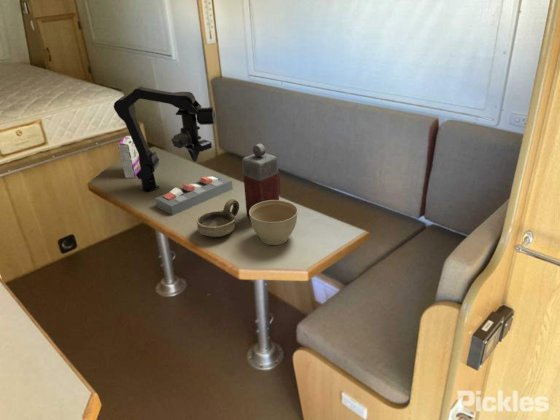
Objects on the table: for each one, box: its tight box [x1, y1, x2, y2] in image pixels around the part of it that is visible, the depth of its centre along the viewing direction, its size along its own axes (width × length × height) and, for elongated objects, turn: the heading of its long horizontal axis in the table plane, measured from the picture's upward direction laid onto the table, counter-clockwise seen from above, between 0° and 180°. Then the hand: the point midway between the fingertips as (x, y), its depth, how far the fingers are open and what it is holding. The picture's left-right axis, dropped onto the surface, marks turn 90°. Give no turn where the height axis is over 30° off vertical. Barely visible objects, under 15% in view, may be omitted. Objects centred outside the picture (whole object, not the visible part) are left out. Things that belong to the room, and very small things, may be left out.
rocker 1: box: [163, 186, 183, 201], centre depth 187 cm, size 4×6×2 cm, turn 136°
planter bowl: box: [249, 199, 299, 246], centre depth 160 cm, size 16×16×11 cm
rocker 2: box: [181, 183, 201, 191], centre depth 192 cm, size 4×6×2 cm, turn 136°
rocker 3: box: [199, 176, 218, 184], centre depth 198 cm, size 4×6×2 cm, turn 136°
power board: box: [155, 173, 233, 216], centre depth 192 cm, size 11×30×4 cm, turn 136°
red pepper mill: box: [241, 143, 282, 218], centre depth 171 cm, size 9×11×28 cm
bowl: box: [196, 198, 240, 238], centre depth 166 cm, size 14×18×10 cm
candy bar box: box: [117, 135, 141, 179], centre depth 214 cm, size 11×5×16 cm, turn 179°
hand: (194, 161), depth 196 cm, fingers closed
